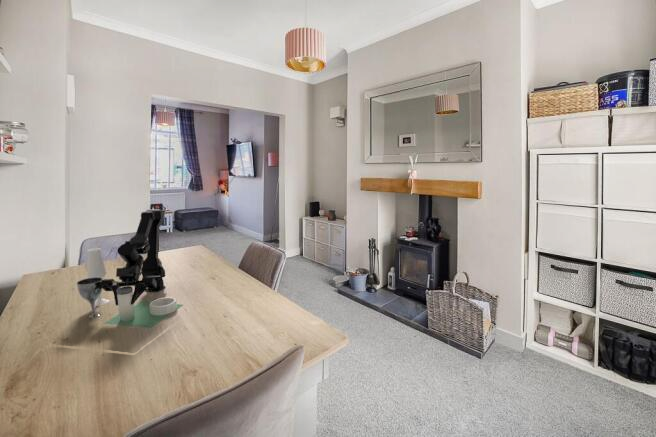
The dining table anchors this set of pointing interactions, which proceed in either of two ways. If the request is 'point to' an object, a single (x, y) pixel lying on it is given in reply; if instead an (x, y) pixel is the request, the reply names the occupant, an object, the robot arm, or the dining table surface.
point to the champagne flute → (96, 269)
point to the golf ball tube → (125, 303)
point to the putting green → (149, 313)
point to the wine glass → (90, 291)
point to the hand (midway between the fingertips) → (124, 304)
